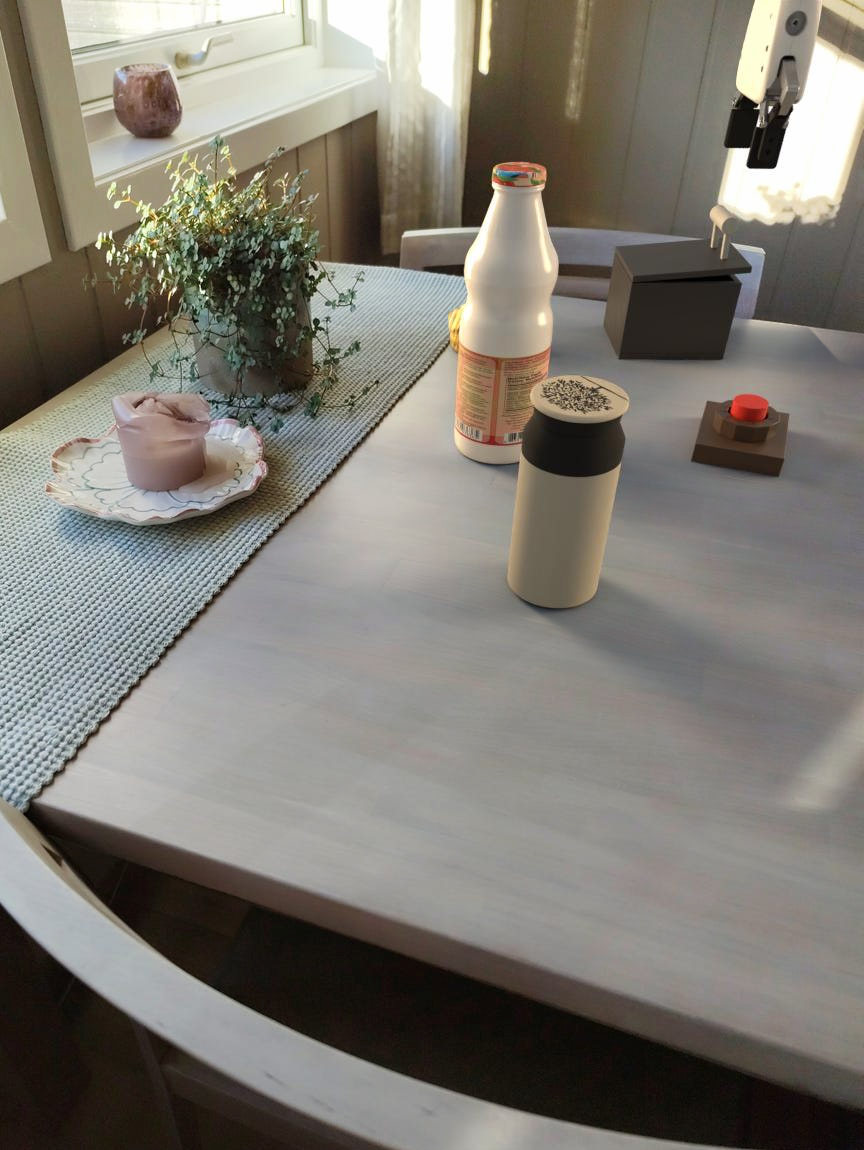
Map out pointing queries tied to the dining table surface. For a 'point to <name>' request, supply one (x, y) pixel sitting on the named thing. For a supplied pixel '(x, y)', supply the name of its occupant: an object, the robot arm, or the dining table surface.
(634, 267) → the lid
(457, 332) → the seashell
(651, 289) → the dark hinged lid box
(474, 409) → the fruit juice
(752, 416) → the button
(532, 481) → the travel mug
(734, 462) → the panel
